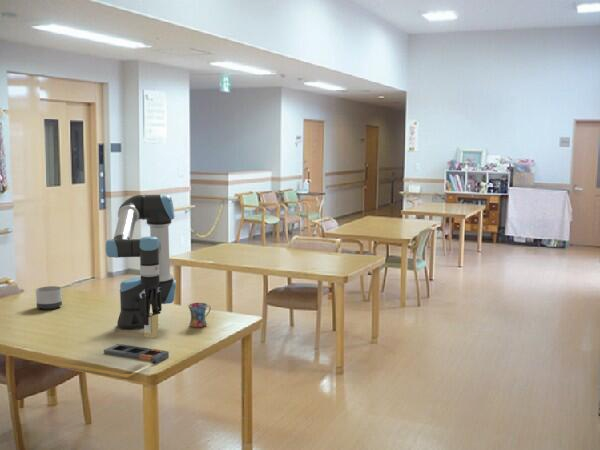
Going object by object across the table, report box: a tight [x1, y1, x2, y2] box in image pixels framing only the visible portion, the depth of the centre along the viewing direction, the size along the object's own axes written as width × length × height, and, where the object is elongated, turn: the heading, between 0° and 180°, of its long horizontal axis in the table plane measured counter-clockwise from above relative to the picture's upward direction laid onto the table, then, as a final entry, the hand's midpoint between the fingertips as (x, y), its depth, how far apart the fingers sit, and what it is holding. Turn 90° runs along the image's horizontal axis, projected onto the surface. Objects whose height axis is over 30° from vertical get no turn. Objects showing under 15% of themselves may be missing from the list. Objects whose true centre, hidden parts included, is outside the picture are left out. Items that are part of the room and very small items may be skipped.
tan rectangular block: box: [143, 312, 159, 339], centre depth 258 cm, size 4×4×9 cm
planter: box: [35, 285, 63, 310], centre depth 341 cm, size 13×13×10 cm
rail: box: [103, 343, 170, 365], centre depth 263 cm, size 26×9×3 cm, turn 67°
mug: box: [187, 302, 212, 328], centre depth 308 cm, size 12×9×11 cm
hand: (151, 330), depth 258 cm, fingers closed on tan rectangular block, 4 cm apart
